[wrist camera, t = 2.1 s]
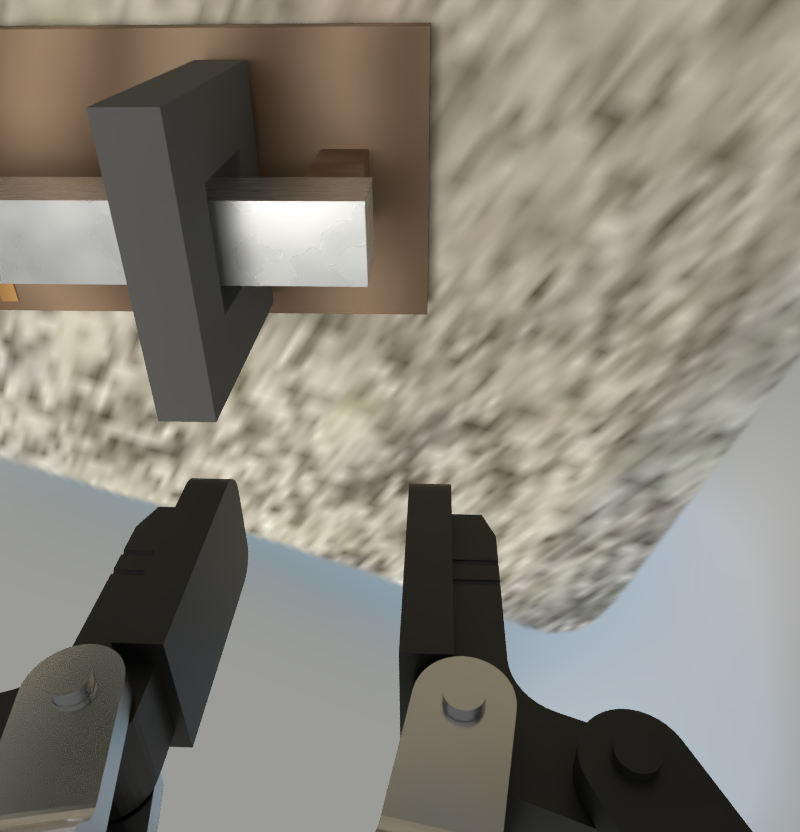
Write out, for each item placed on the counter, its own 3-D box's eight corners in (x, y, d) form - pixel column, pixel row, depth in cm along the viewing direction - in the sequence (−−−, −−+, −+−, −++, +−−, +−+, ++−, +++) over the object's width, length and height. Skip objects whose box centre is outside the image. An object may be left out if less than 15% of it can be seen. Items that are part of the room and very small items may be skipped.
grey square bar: (372, 168, 26) (363, 195, 23) (375, 260, 28) (367, 296, 25) (-256, 167, 27) (-340, 193, 24) (-213, 256, 29) (-286, 290, 26)
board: (430, 22, 29) (428, 38, 24) (427, 301, 35) (425, 359, 30) (-196, 27, 30) (-324, 43, 25) (-87, 296, 36) (-171, 351, 31)
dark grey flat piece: (246, 59, 27) (159, 107, 19) (273, 302, 33) (216, 422, 24) (194, 59, 28) (85, 107, 19) (230, 301, 33) (158, 421, 25)
